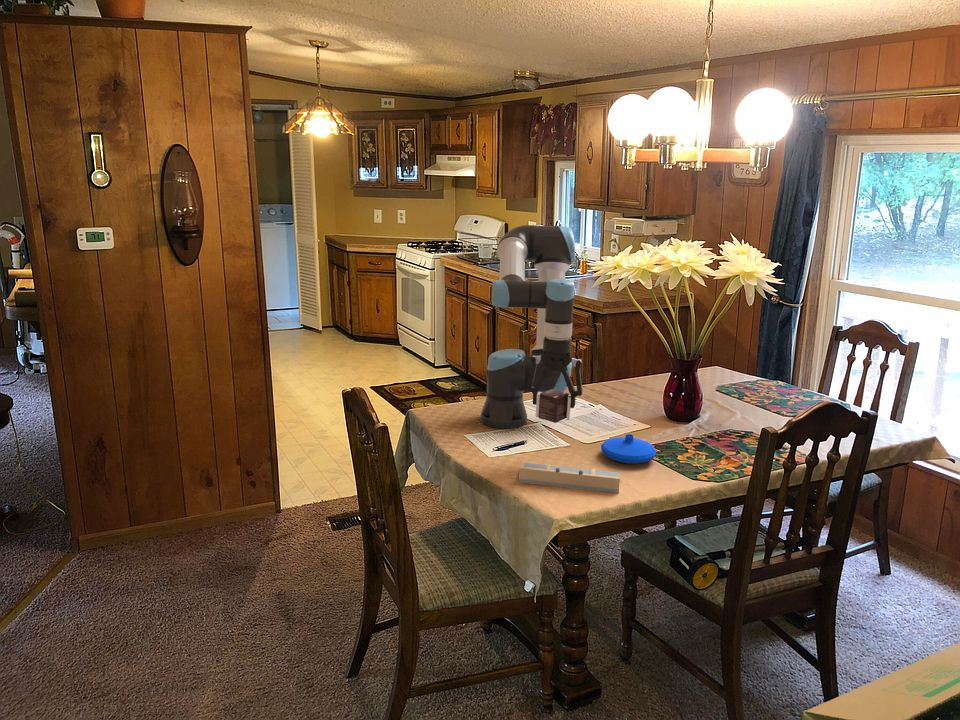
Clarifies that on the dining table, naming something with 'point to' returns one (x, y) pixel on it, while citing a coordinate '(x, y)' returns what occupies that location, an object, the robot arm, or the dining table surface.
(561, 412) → the box
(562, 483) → the board
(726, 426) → the dining table surface
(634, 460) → the blue knobbed lid
